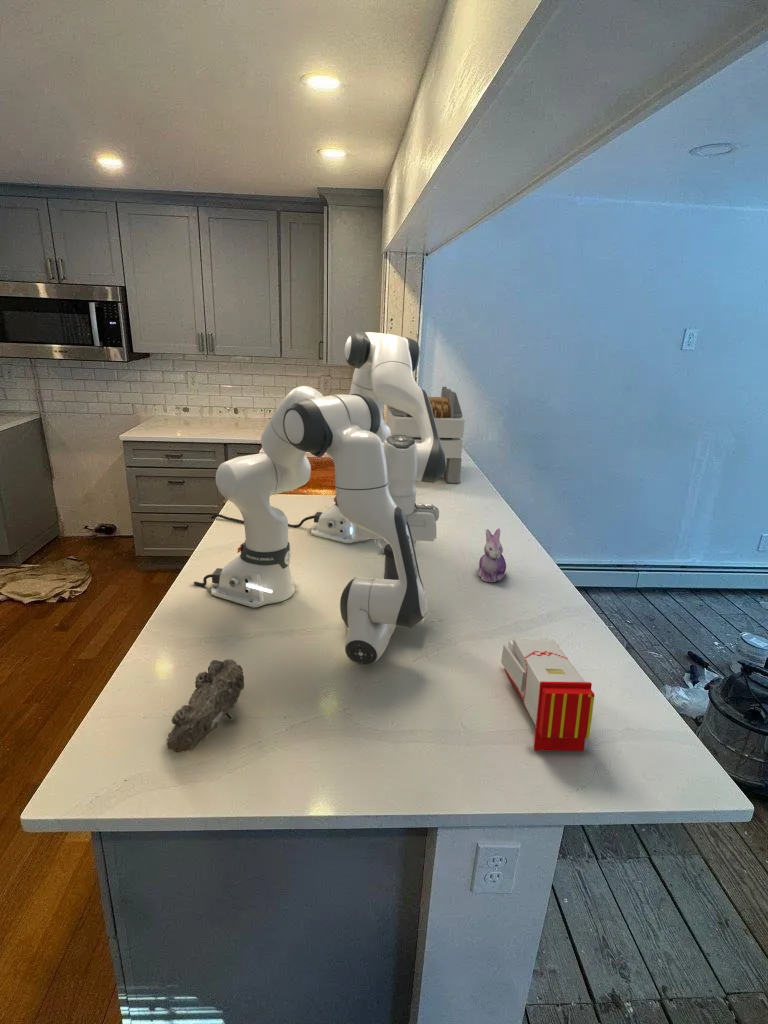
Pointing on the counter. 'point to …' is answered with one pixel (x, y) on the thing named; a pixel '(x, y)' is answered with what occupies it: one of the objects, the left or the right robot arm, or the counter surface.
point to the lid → (388, 551)
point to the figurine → (492, 559)
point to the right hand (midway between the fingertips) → (394, 554)
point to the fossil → (206, 705)
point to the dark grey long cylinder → (390, 569)
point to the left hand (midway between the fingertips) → (393, 591)
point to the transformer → (447, 427)
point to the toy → (550, 693)
